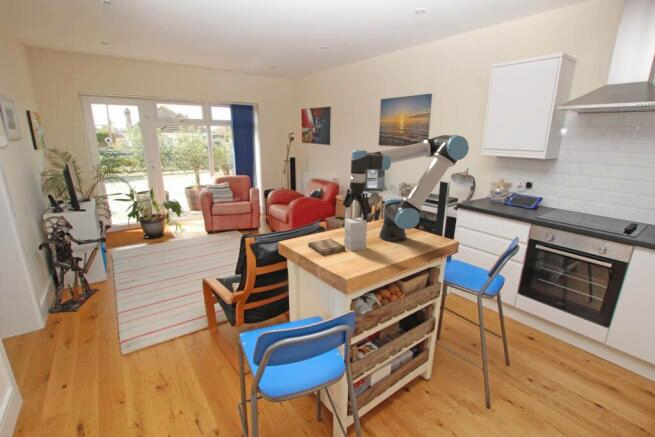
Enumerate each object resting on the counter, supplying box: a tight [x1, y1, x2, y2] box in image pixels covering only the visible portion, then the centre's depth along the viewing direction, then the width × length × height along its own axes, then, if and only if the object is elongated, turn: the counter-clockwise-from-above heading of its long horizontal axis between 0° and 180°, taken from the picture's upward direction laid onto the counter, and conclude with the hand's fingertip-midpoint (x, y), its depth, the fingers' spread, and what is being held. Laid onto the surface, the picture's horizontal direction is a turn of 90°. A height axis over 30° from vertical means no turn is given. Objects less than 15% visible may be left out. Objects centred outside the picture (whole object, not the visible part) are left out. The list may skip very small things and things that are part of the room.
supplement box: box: [343, 217, 368, 251], centre depth 161 cm, size 9×9×15 cm
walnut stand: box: [307, 238, 346, 256], centre depth 161 cm, size 14×14×2 cm
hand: (355, 222), depth 160 cm, fingers open, 13 cm apart
